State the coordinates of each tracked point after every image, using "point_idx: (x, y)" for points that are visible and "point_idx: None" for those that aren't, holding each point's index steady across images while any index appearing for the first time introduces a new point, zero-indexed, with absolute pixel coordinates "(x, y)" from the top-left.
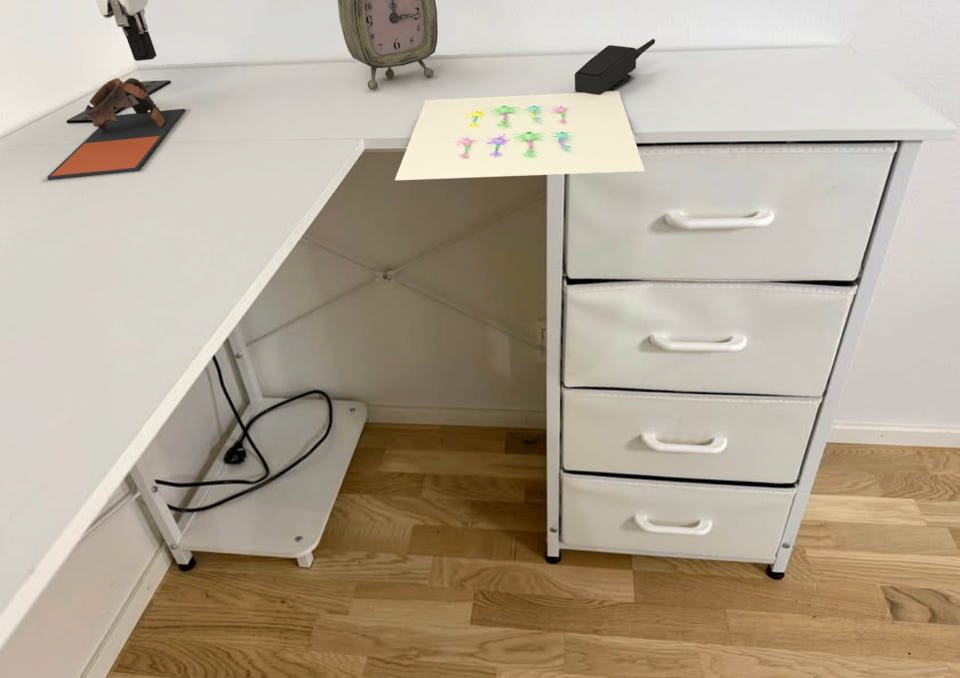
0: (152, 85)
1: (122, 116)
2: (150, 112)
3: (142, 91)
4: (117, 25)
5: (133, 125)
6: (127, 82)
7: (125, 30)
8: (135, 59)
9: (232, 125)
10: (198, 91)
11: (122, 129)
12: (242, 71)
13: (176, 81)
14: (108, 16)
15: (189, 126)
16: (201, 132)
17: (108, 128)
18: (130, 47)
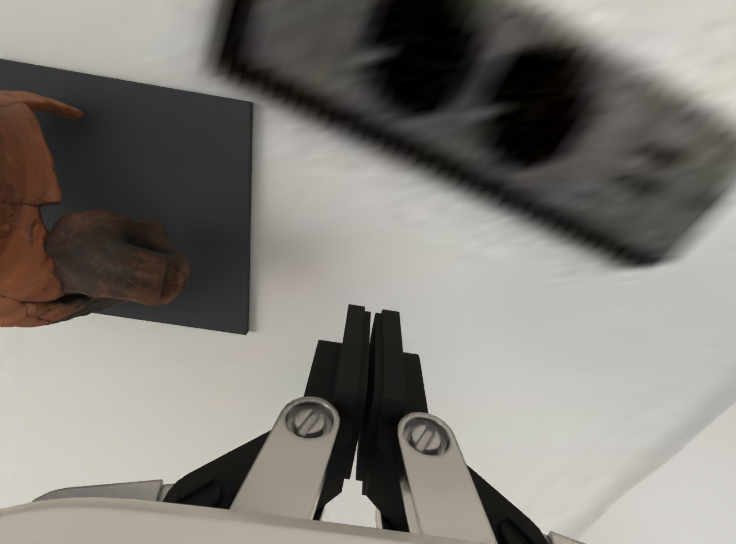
0: (654, 202)
1: (223, 152)
2: (239, 244)
3: (5, 325)
4: (33, 501)
5: (107, 207)
6: (76, 275)
7: (242, 448)
8: (348, 307)
9: (95, 426)
10: (447, 353)
11: (69, 176)
12: (595, 448)
13: (638, 284)
14: (179, 505)
15: (104, 346)
16: (52, 372)
17: (88, 121)
18: (344, 341)
